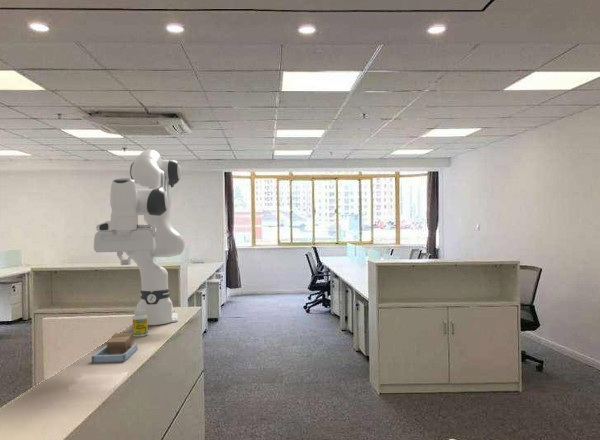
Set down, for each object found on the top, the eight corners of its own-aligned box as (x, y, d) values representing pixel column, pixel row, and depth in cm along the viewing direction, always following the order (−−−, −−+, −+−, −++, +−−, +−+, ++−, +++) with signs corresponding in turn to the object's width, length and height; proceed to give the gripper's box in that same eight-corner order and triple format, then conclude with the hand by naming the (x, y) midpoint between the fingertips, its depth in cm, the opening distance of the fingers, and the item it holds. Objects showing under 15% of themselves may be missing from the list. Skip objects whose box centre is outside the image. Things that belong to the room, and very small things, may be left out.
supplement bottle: (145, 332, 177) (145, 308, 177) (149, 335, 173) (149, 310, 173) (131, 334, 174) (131, 309, 174) (134, 337, 170) (134, 311, 170)
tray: (107, 350, 152) (107, 344, 152) (137, 349, 153) (137, 343, 153) (91, 363, 139) (91, 356, 139) (125, 361, 139) (124, 355, 139)
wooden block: (115, 333, 154) (106, 342, 146) (133, 332, 155) (125, 341, 147) (115, 344, 155) (107, 354, 147) (133, 343, 155) (126, 353, 147)
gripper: (157, 224, 161) (158, 262, 161) (98, 225, 160) (99, 264, 160) (152, 224, 155) (153, 265, 155) (91, 225, 153) (92, 266, 154)
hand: (125, 264), depth 158 cm, fingers closed
